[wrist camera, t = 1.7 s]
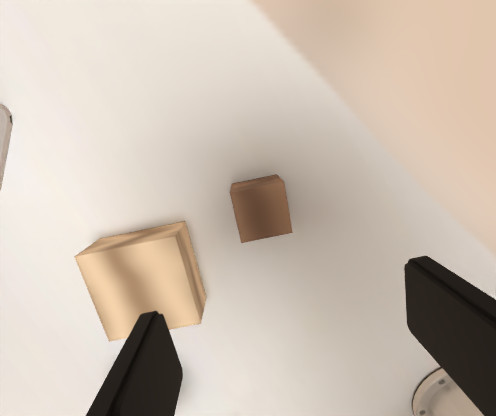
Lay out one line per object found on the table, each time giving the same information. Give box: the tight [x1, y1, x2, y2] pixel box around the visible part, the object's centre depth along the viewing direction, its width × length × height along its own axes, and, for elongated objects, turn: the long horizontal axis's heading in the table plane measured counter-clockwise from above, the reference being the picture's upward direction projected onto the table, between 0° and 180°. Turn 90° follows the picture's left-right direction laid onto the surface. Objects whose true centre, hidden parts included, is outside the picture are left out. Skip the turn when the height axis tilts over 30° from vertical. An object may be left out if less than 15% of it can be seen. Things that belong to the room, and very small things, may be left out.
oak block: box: [75, 221, 206, 341], centre depth 29 cm, size 10×10×5 cm
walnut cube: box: [230, 175, 292, 243], centre depth 27 cm, size 5×5×5 cm
